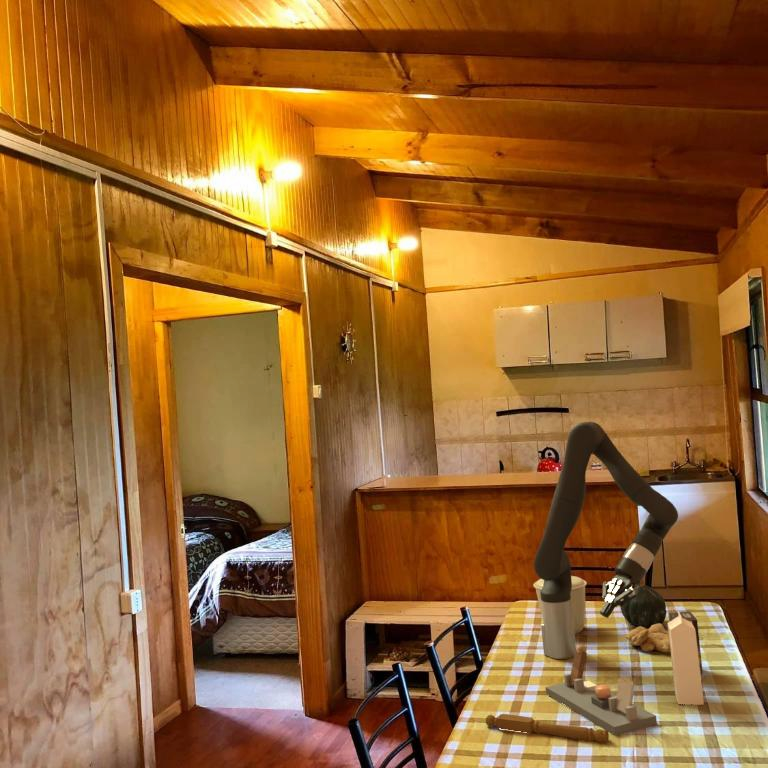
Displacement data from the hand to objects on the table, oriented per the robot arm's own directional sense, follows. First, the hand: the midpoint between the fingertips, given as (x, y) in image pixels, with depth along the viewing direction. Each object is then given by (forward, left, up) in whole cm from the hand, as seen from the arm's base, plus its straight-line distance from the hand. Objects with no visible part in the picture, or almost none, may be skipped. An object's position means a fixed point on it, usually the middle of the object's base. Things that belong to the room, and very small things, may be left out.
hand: (603, 615), depth 201 cm
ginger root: (-2, +35, -20) cm, 40 cm away
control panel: (+3, -15, -19) cm, 25 cm away
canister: (-34, +40, -20) cm, 56 cm away
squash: (-12, +57, -20) cm, 62 cm away
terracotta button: (+5, -16, -15) cm, 23 cm away
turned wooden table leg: (-2, -34, -20) cm, 40 cm away
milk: (+21, 0, -20) cm, 29 cm away
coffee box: (+15, +18, -20) cm, 31 cm away
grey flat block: (+12, -20, -17) cm, 29 cm away
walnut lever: (-6, -10, -17) cm, 20 cm away
